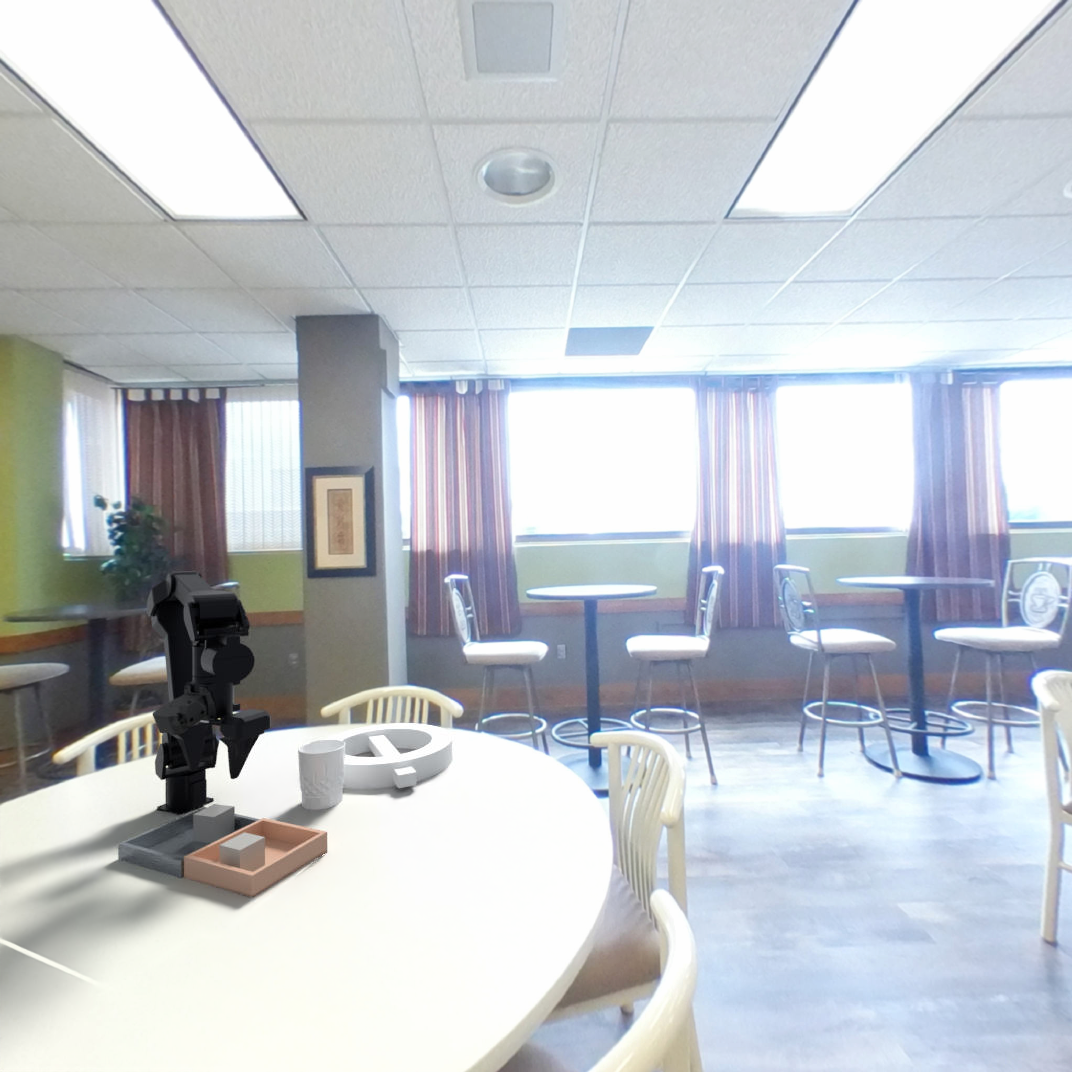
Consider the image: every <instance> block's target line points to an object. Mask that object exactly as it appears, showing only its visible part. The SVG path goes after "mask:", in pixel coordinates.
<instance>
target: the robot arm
mask: <svg viewBox="0 0 1072 1072" xmlns="http://www.w3.org/2000/svg"><path fill="white" fill-rule="evenodd" d="M202 577H203V576H202V574H201V572H197V570H196V571H195V570H193V571H188V570H187V571H172V572H171V573H170V572H169V573H167V576H166V578H165V580H163V581H161V582H159V583H158V584H156V585H155V586H153V587H151V590H150V592H149V595H148V597H147V602H146V612H147V613H146V614H147V616H148V617H149V618H151V619H150V620H151V626H152V629H153V630H154V631H155V632H156V633H157V634H158V636H160V637H161V639H162V640H163V645H164V657H165V659H164V660H165V670H166V680H167V691H168V702H167V703H166V704H164V705H163V706H160V707H159V708H158V709H156V710H154V711H153V712H152V718H153V720H154V722H155V724H156V725H155V726H156V727H157V730H158V733H160V734H161V743H159V746H158V749H157V753H156V756H155V761H154V767H155V768H154V769H155V775H156V776H157V777H158V778H159V779H160V780H161V781H164V780H165V803H163V804H161V805H159V806H157V807H156V810H157V811H161V812H165V813H169V814H173V815H178V816H181V815H186V814H188V813H190V812H193V811H195V810H198V809H200V808H201V807H205V806H206V805H208V804H210V803H213V802H215V801H214V800H215V799H214V798H213V797H209V796H207V794H208V793H207V790H208V789H207V786H208V784H207V775H206V774H207V773H206V772H207V770H209V769H214V768H216V765H217V757H218V750H219V745H220V742H222V743H223V744H224V745H225V746H226V747H227V758H228V761H227V762H228V769H229V777H230V779H231V780H235V779H238V777H239V776H240V774H241V772H242V771H243V768H244V765H245V763H246V761H247V760H248V757H249V756H250V753H251V751H252V749H253V748H254V745H255V744H256V743H257V741H258V739H259V737H260V736H261V735H263V734H265V731H267V730H270V729H271V728H272V725H271V720H272V719H271V714H269V713H268V711H267V710H264V709H263V710H261V709H255V708H253V709H252V708H249V709H245V710H242V711H241V703H240V702H239V703H238V702H235V686H237V685H241V681H243V680H245V679H246V678H247V677H248V676H249V675H251V673H252V671H253V669H254V666H255V661H256V660H255V656H254V653H253V651H252V649H251V648H250V647H249V646H247V645H245V644H243V643H241V638H242V637H249V633H250V632H249V629H250V626H251V624H250V621H249V618H248V616H247V612H246V610H245V607H244V605H243V603H242V601H241V599H239V597H238V596H237V594H236V593H234V592H231V591H228V590H227V591H225V590H215V589H214V588H213V587H212V586H211V585H210V584H209V583H208V582H206V581H205V580H204V579H203V578H202ZM235 712H236V713H235ZM213 726H216V727H220V729H219V731H220V732H221V735H222V736H223V737H220V738H219V739H218V738H217V735H216V733H215V732H213ZM219 740H220V741H219Z"/></svg>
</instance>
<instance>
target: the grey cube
mask: <svg viewBox="0 0 1072 1072" xmlns="http://www.w3.org/2000/svg"><path fill="white" fill-rule="evenodd" d="M235 810H236V809H235V805H228V804H227V805H226V804H218V803H214V804H211V805H210V806H207V808H205V809H203V810H201V811H199V812H197V813H195V814H193V841H197V842H204V843H213V842H215V841H217V840H219V839H221V838H223V837H225V836H227V835H229V834H231V833H233V832H235V814H236V813H235Z"/></svg>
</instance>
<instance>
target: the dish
mask: <svg viewBox="0 0 1072 1072" xmlns="http://www.w3.org/2000/svg"><path fill="white" fill-rule="evenodd" d="M259 819H260V820H258V821H256V822H254V823H252V824H250V825H248V826H246V827H244V828H242V829H239V830H237V831H235V832H233V833H231V834H229V835H227V836H225V837H223V838H221V839H219V840H217V841H215V842H213V843H211V844H209V845H207V846H205V847H203V848H201V849H199V850H197V851H195V852H193V853H191V854H189V855H187V856H184V877H183V878H185V879H188V880H191V881H194V882H199V883H201V884H205V885H208V886H211V887H215V888H218V889H222V890H224V891H227V892H231V893H234V894H237V895H242V896H245V897H249V898H252V899H253V898H255V897H256V896H258V895H260V894H261V893H263V892H265V891H266V890H267V889H269V888H271V887H272V886H274V885H275V884H277V883H279V882H280V881H282V880H284V879H285V878H286V877H287V878H288V876H290V875H292V874H293V873H295V872H296V871H297V870H299V869H301V868H302V867H304V866H307V865H308V864H310V863H311V862H312V861H313V862H315V861H314V860H315V859H316V858H318V859H320V858H321V857H323V856H324V855H323V854H325V853H326V854H328V831H325V830H322V829H321V830H320V829H317V828H316V829H315V828H312V827H307V826H304V825H303V826H301V825H298V824H293V823H290V822H289V823H288V822H284V821H279V820H275V819H271V818H265V817H262V818H259ZM244 832H245V833H249V834H254V835H258V836H262V837H265V865H264V866H262V867H261V868H259V869H257V870H256V871H254V872H251V871H248V870H244V869H240V868H237V867H233V866H229V865H226V864H222V863H219V845H220V844H222V843H224V842H226V841H228V840H230V839H232V838H234V837H236V836H238V835H240V834H242V833H244ZM326 854H325V855H326ZM322 855H323V856H322ZM320 856H321V857H320ZM319 857H320V858H319Z"/></svg>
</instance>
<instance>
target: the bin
mask: <svg viewBox="0 0 1072 1072" xmlns="http://www.w3.org/2000/svg"><path fill="white" fill-rule="evenodd" d="M207 807H208V806H207ZM207 807H206V806H202V808H201V807H200V808H198V809H195V810H193V811H191V812H188V813H186V814H184V815H183V816H180V817H178V818H175V819H173V820H171V821H168V822H166V823H163V824H161V825H159V826H157V827H154V828H152V829H150V830H146V831H144V832H142V833H140V834H138V835H135V836H134V837H130V838H128V839H126V840H124V841H121V842H119V843H118V844H117V846H118V847H117V848H118V851H117V852H118V854H117V855H118V856H117V859H118V860H119V861H122V862H125V863H130V864H132V865H135V866H138V867H142V868H145V869H149V870H153V871H155V872H159V873H163V874H166V875H169V876H172V877H175V878H179V879H183V878H184V856H187V855H189V854H191V853H193V852H195V851H197V850H199V849H201V848H203V847H205V846H207V845H209V844H211V843H204V842H197V841H193V814H195V813H197V812H199V811H201V810H203V809H205V808H207ZM260 819H261V818H256V817H251V816H247V815H242V814H238V813H235V831H237V830H239V829H242V828H244V827H246V826H248V825H250V824H252V823H254V822H256V821H258V820H260Z"/></svg>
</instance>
